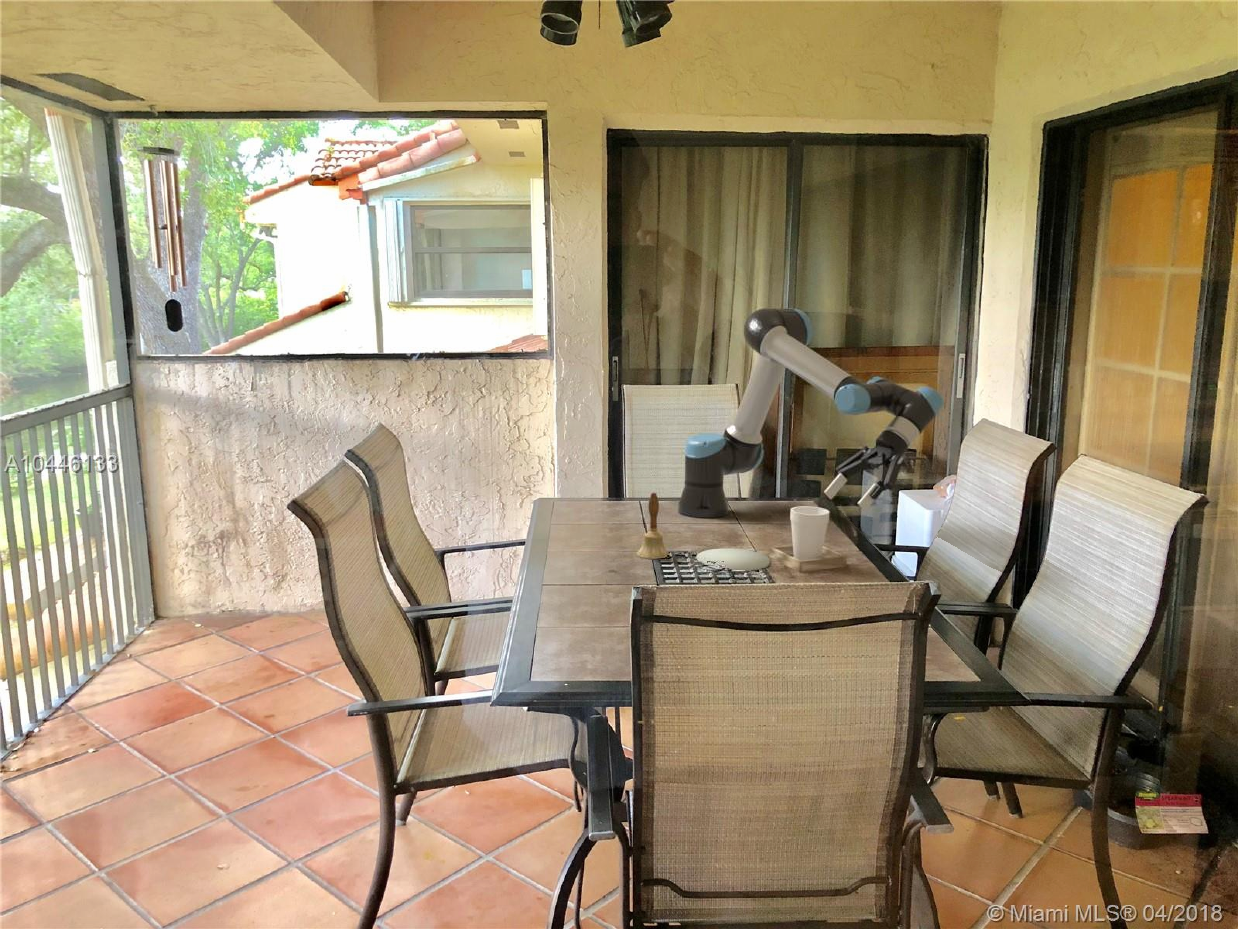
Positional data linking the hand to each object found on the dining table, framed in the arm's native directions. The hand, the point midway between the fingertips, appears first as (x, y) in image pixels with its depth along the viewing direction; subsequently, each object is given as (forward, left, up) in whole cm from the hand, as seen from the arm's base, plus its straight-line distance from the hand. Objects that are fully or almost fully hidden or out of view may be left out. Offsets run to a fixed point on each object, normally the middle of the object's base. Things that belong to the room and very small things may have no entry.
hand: (843, 501), depth 225 cm
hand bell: (-31, -35, -15) cm, 49 cm away
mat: (-15, -23, -15) cm, 31 cm away
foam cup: (-3, -9, -15) cm, 18 cm away
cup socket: (-3, -9, -15) cm, 18 cm away
